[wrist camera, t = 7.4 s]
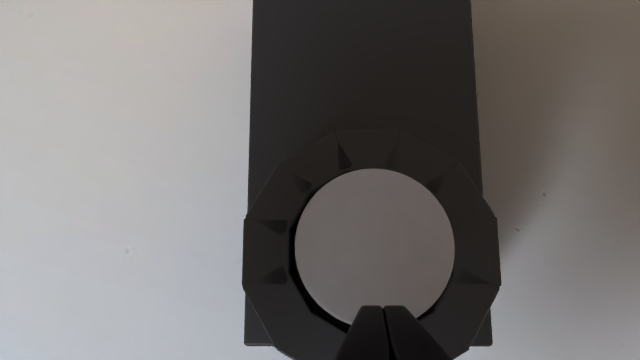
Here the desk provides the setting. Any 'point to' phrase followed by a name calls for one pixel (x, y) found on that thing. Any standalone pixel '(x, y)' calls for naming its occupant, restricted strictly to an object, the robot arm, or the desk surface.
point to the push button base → (362, 153)
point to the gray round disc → (374, 244)
